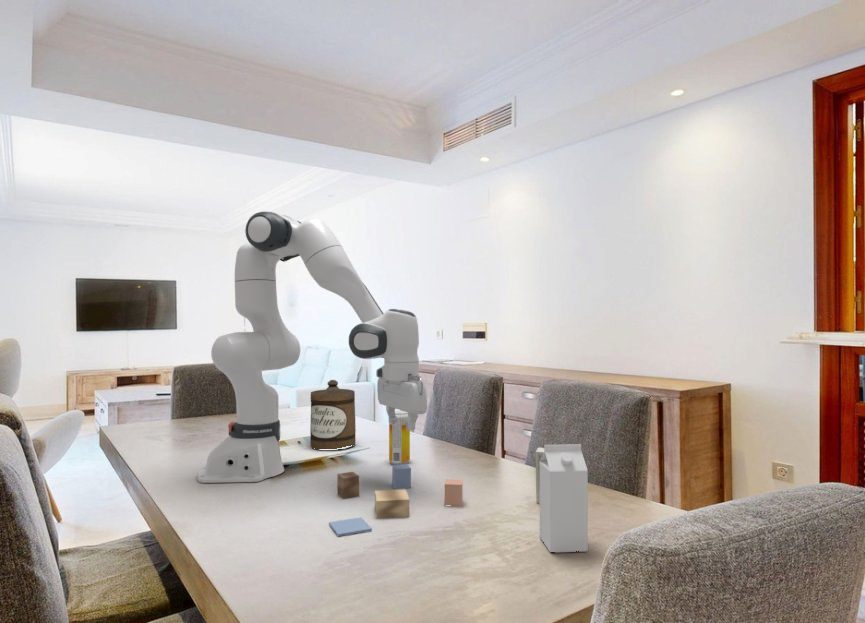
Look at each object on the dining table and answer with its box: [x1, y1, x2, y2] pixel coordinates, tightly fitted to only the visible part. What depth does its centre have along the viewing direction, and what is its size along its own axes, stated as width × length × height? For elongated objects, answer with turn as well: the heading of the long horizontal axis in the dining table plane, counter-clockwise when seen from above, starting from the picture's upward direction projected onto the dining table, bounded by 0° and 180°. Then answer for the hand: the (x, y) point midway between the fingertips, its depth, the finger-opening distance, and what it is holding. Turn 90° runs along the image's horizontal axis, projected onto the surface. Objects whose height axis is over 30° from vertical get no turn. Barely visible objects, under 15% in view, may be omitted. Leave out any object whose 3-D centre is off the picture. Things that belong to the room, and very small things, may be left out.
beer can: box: [388, 410, 411, 465], centre depth 165 cm, size 6×6×15 cm
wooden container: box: [309, 379, 357, 450], centre depth 187 cm, size 15×15×22 cm
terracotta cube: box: [444, 478, 464, 507], centre depth 130 cm, size 4×4×5 cm
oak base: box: [374, 488, 410, 519], centre depth 124 cm, size 7×7×4 cm
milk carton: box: [539, 443, 589, 553], centre depth 106 cm, size 7×7×19 cm
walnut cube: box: [336, 471, 360, 500], centre depth 135 cm, size 4×4×5 cm
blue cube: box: [391, 463, 412, 490], centre depth 143 cm, size 4×4×5 cm
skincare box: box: [534, 447, 544, 504], centre depth 131 cm, size 6×4×12 cm
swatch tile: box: [328, 517, 373, 537], centre depth 115 cm, size 7×7×1 cm
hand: (401, 426), depth 143 cm, fingers open, 8 cm apart
